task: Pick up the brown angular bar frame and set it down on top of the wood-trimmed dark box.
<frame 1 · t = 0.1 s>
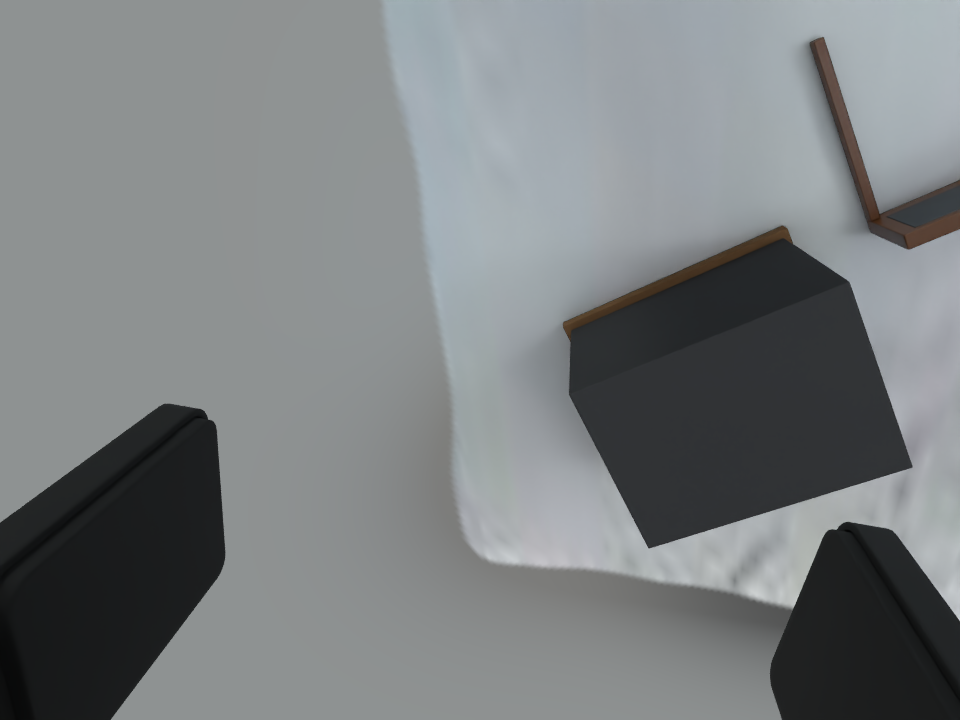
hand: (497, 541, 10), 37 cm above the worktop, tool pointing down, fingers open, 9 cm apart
wood-trimmed dark box: (700, 352, 46), on the worktop
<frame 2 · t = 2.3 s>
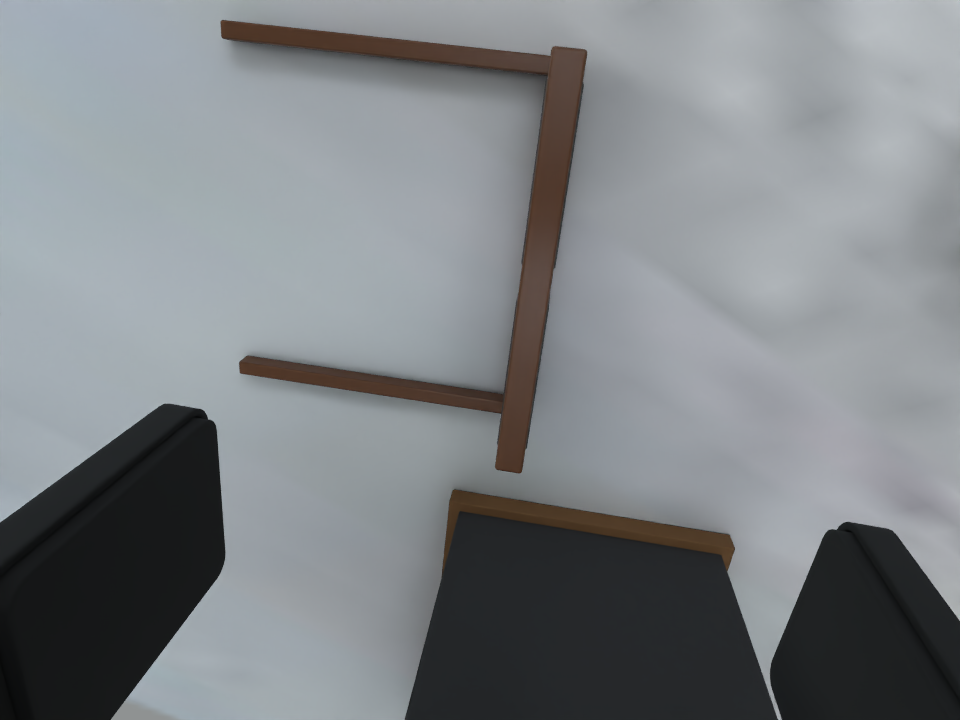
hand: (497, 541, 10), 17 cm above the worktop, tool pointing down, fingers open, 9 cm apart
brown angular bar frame: (540, 253, 25), on the worktop
wood-trimmed dark box: (561, 639, 32), on the worktop
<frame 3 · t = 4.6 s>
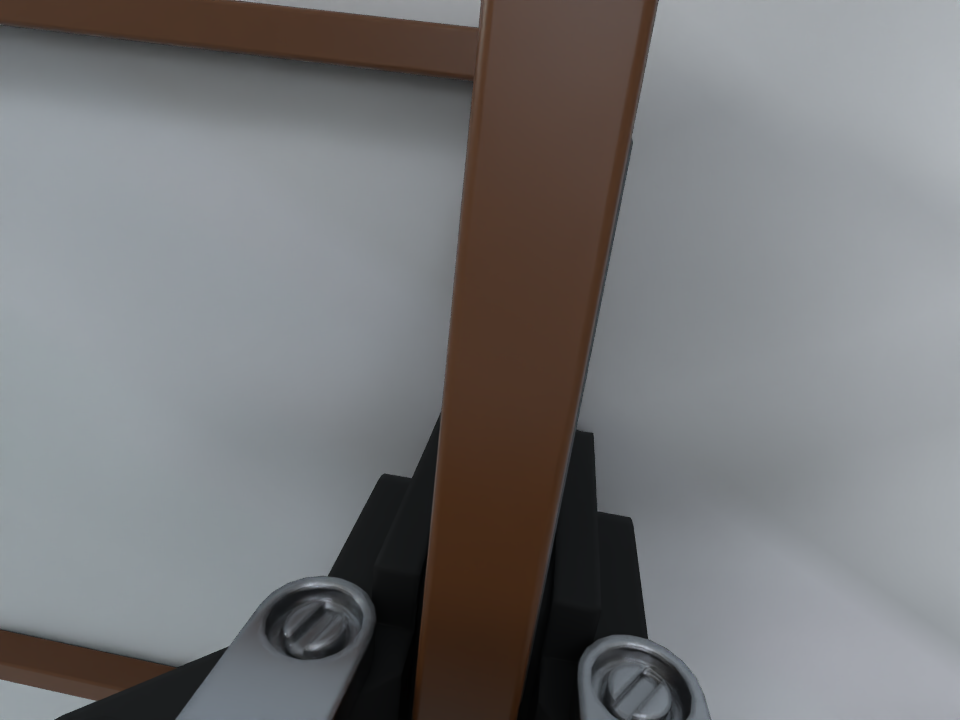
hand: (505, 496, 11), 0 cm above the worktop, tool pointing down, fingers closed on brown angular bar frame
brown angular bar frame: (507, 485, 11), on the worktop, touching gripper
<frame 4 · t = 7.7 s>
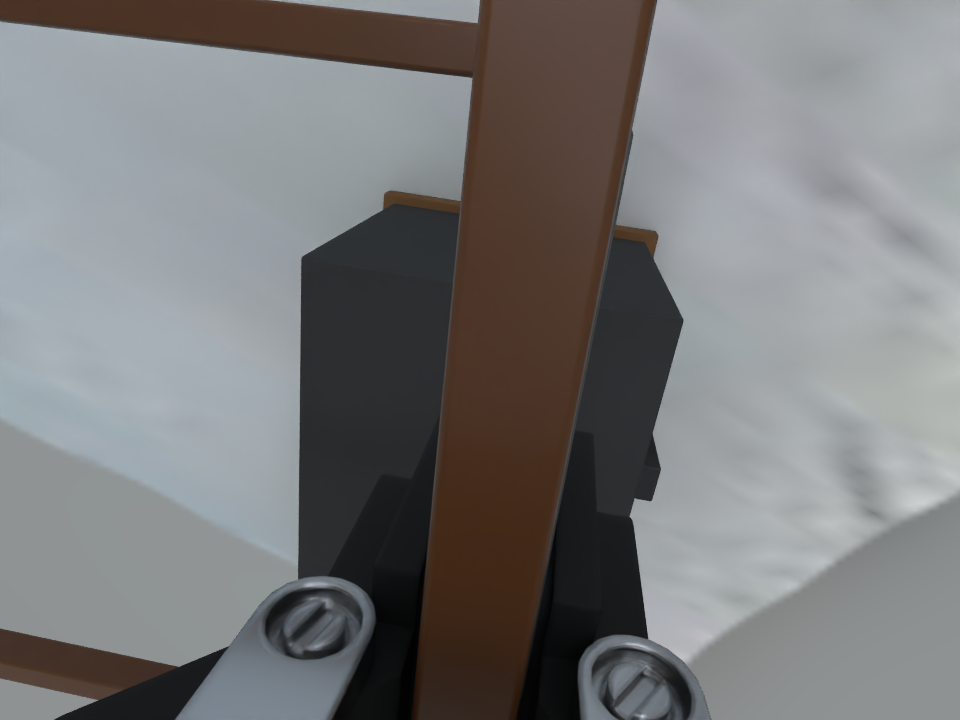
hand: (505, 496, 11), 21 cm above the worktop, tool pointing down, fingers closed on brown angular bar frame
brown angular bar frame: (507, 483, 11), point 21 cm above the worktop, touching gripper
wood-trimmed dark box: (497, 364, 33), on the worktop
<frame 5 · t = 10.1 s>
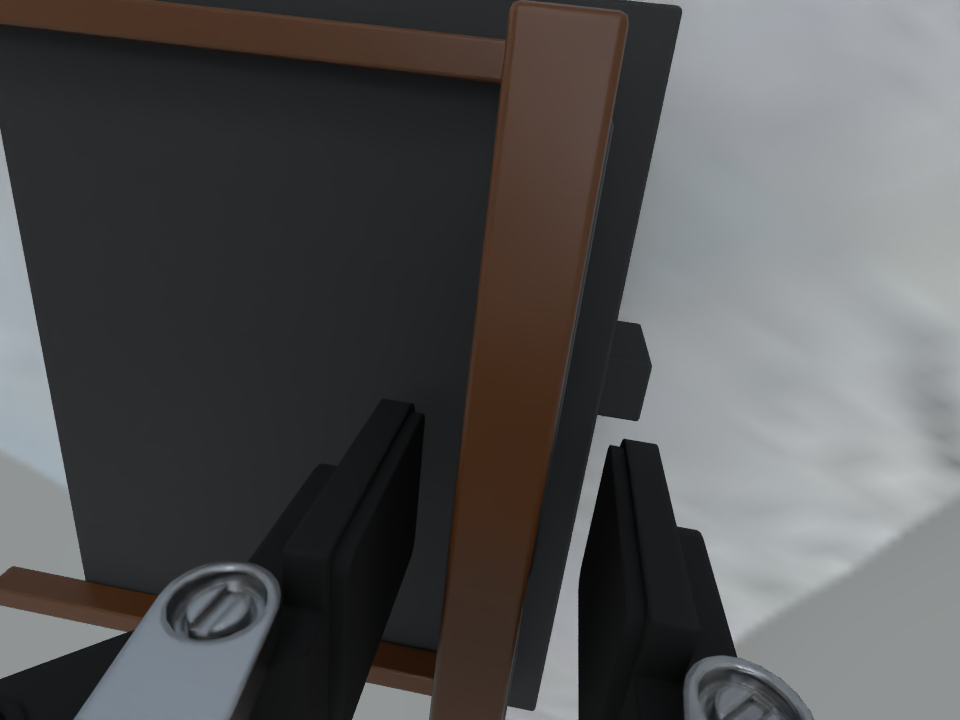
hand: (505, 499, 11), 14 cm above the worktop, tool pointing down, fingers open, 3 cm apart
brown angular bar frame: (515, 433, 13), point 12 cm above the worktop, touching wood-trimmed dark box
wood-trimmed dark box: (429, 262, 24), on the worktop
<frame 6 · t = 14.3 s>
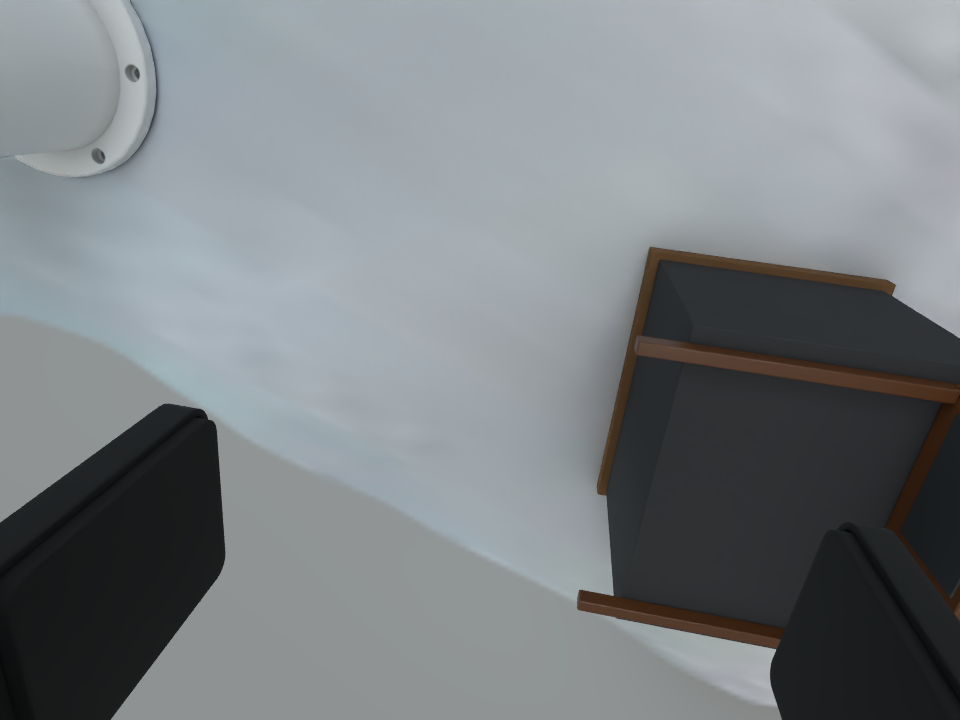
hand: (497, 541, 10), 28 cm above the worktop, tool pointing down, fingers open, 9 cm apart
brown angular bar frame: (895, 530, 27), point 12 cm above the worktop, touching wood-trimmed dark box
wood-trimmed dark box: (727, 393, 38), on the worktop
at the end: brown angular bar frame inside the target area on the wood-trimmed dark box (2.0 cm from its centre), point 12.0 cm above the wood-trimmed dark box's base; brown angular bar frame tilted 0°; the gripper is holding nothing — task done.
